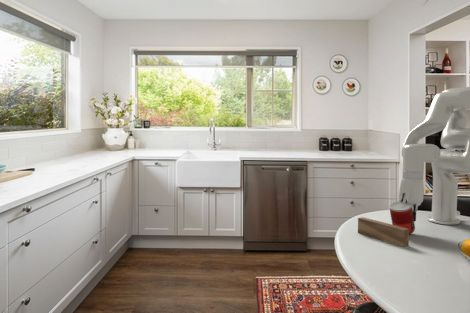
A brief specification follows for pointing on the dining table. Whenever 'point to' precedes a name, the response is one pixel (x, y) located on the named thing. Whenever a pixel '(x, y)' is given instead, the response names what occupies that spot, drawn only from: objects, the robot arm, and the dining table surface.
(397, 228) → the walnut board
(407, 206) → the canned food
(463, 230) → the dining table surface
